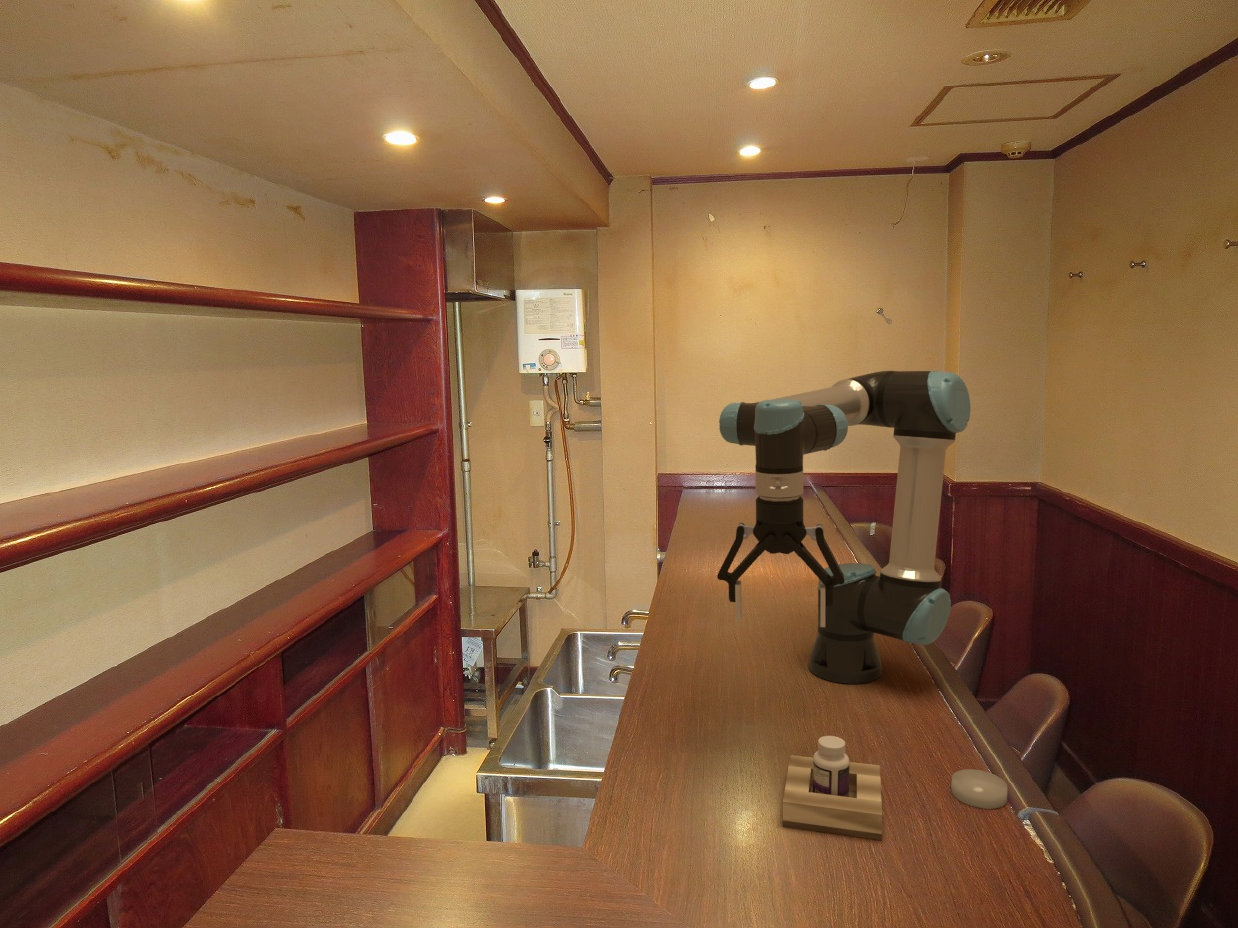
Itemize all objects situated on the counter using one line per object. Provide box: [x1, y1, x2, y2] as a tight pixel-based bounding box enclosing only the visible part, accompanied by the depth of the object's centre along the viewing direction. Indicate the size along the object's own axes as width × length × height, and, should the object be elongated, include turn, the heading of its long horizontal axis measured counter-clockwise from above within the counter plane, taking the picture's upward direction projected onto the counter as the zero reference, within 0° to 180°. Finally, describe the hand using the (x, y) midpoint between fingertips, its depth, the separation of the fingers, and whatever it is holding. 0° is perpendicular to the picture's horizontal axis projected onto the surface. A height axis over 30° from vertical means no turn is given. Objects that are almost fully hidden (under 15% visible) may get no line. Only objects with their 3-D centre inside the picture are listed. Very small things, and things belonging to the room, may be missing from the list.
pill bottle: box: [812, 735, 850, 797], centre depth 125 cm, size 5×5×10 cm
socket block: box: [782, 754, 883, 841], centre depth 126 cm, size 14×14×4 cm
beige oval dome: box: [950, 768, 1008, 810], centre depth 128 cm, size 8×8×2 cm
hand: (780, 622), depth 135 cm, fingers open, 13 cm apart
